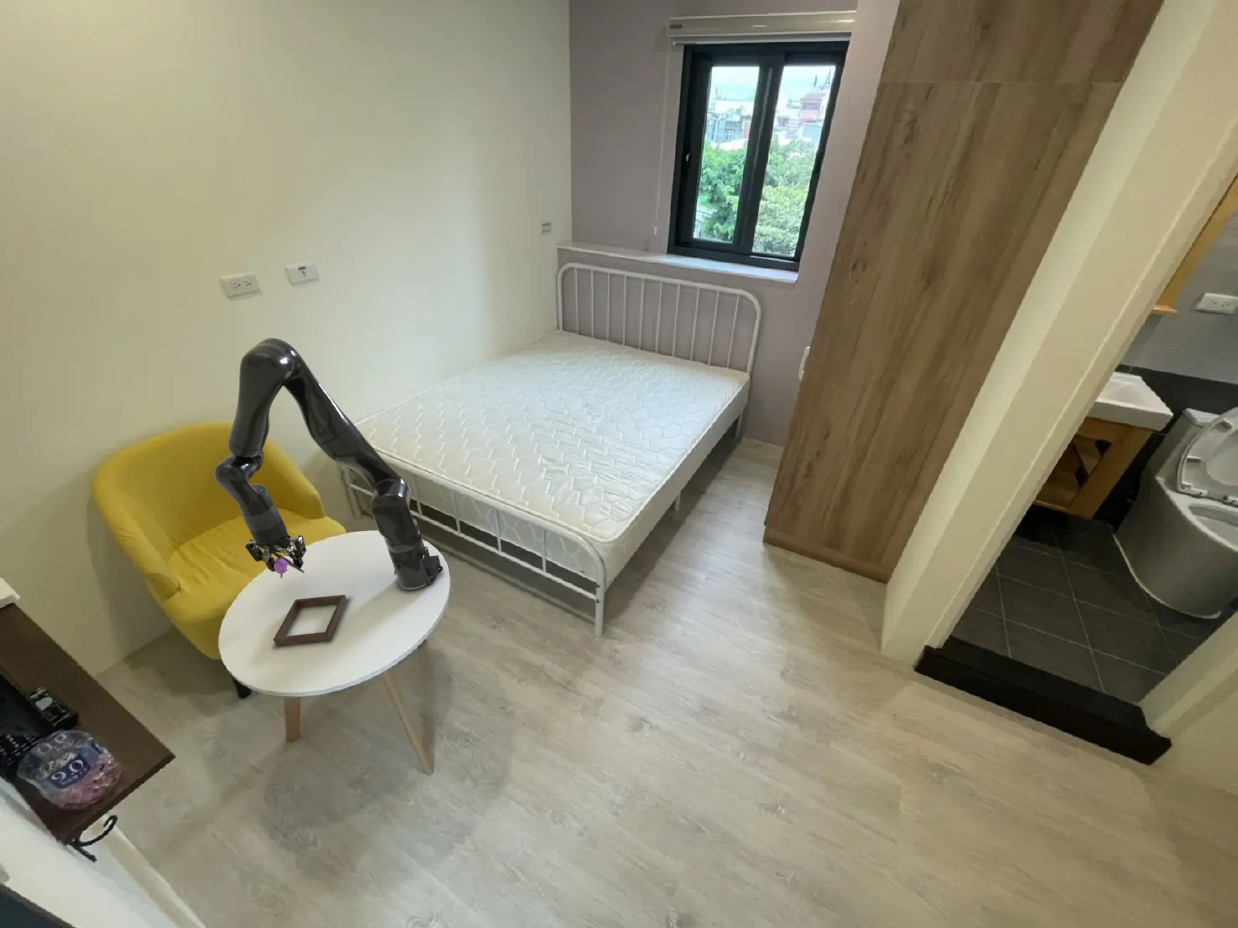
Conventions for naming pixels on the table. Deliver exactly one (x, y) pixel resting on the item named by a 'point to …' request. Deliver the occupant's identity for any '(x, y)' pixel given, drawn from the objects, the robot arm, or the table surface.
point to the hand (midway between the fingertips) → (287, 568)
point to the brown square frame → (312, 637)
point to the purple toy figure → (283, 564)
